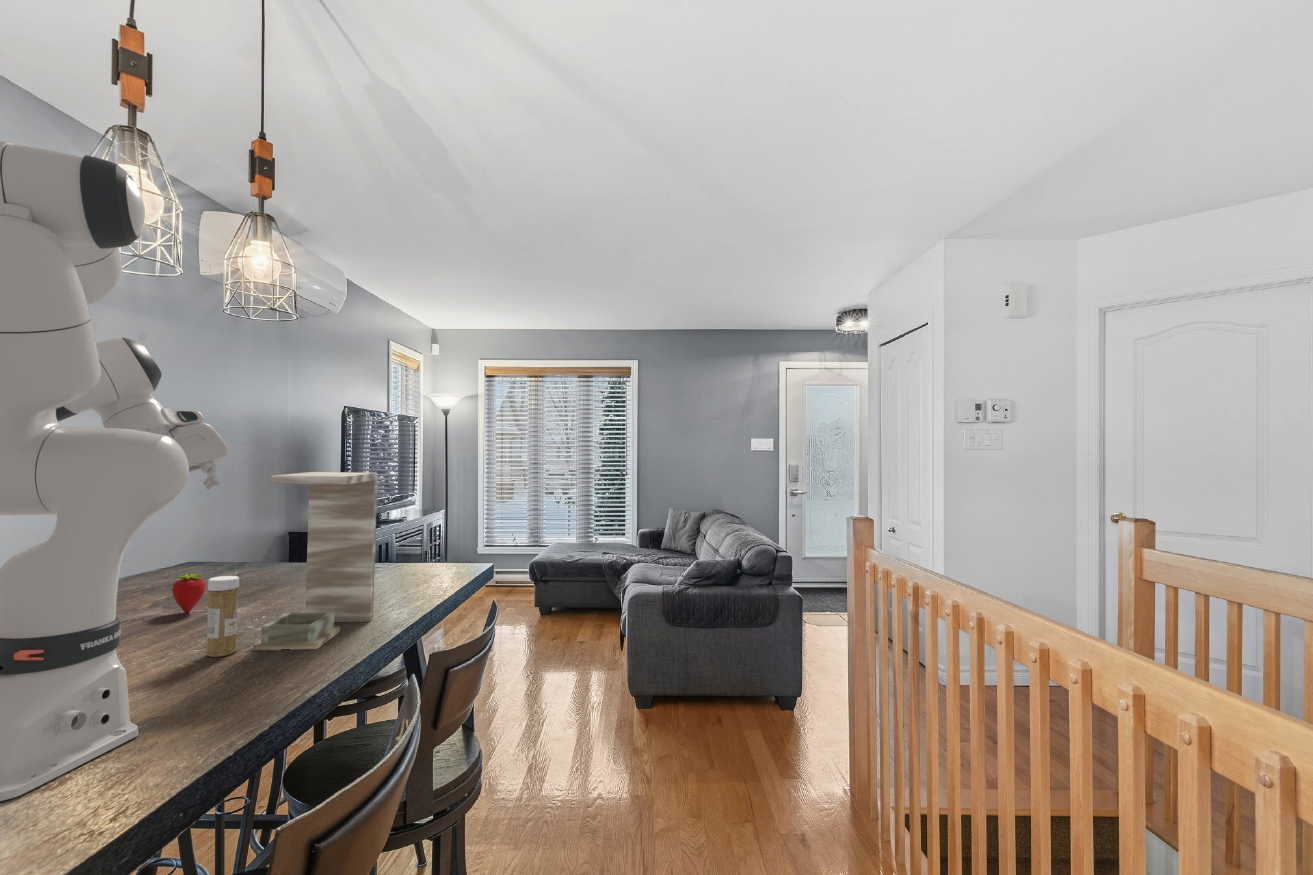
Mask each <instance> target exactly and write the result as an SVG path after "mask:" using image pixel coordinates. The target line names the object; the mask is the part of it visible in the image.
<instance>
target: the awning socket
mask: <svg viewBox="0 0 1313 875" xmlns="http://www.w3.org/2000/svg"><path fill="white" fill-rule="evenodd" d="M270 480H271V484H272V485H308V489H309V490H308V512H307V513H308V515H307V516H308V517H307V548H306V549H307V551H306V576H305V577H306V580H305V581H306V582H305V584H306V585H305V610H304V611H305V612H291V613H290V612H289V613H287V612H285V613H283V614H281V615H279V616H277V617H276V618H274V619H272V620H270V621H269V622H267V623H265V624H264V625H262V626H261V629H260V630H261V632H260V633H261V634H260V640H259V641H257V642H255V643H254V644H253V645H252V651H280V650H281V649H290V650H318V649H319V648H321V647H322V646H323V645H325V644H326V643H327V642H328V641H330V640H331V639H332V638H333V637H335V636H336V635H338V634H339V633H340V632H341V626H338V625H337V626H336V625H335V623H346V622H347V623H350V622H351V623H354V622H355V623H359V622H360V623H361V622H366V623H367V622H371V621H373V619H374V604H375V600H374V599H375V574H376V573H375V571H376V570H375V569H376V567H375V566H376V564H375V563H376V533H377V530H376V529H377V528H376V527H377V501H378V500H377V498H378V497H377V496H378V495H377V494H378V472H356V471H355V472H353V471H352V472H351V471H350V472H349V471H347V472H346V471H345V472H344V471H343V472H337V471H334V472H333V471H310V472H309V471H308V472H298V473H297V472H296V473H288V474H287V473H285V474H276V475H275V474H274V475H271V479H270Z"/></svg>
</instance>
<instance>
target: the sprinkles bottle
mask: <svg viewBox="0 0 1313 875" xmlns="http://www.w3.org/2000/svg"><path fill="white" fill-rule="evenodd" d="M239 587H240V577H239V576H236V575H221V576H216V577H210V578H209V579H208V580H207V590H208V591H207V592H208V603H207V604H208V605H207V619H206V620H207V623H206V624H207V626H206V628H207V629H206V630H207V631H206V637H207V640H206V641H207V644H206V645H207V647H206V652H205V655H206V656H207V657H209V656H210V657H211V658H220V657H226V656H229V655H233V654H234V653H236V652H237V650H238V649H237V633H238V590H239Z"/></svg>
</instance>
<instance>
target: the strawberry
mask: <svg viewBox="0 0 1313 875" xmlns="http://www.w3.org/2000/svg"><path fill="white" fill-rule="evenodd" d="M194 567H195V566H193V567H192V568H191V569H190V570H189V571H188V573H186V574H185V575H177V576H176V577H175V579H178V580H175V582H174V583H173V584H172V588H171V592H172V596H173V599H174V600H175V602H176V604H177V606H179V607H180V609H182V611H183V613H186V614H188V613H191V611H192V610H193V609H194V607H195V606H197V604H198V603H199V601H200V600H201V599H202V597H203V596H204V593H205V590H206V581H204V579H202V578H200V577H206V575H207V574H196V573H194V574H193V573H192V574H190V572H192V570H193V569H194Z"/></svg>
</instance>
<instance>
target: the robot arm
mask: <svg viewBox="0 0 1313 875" xmlns="http://www.w3.org/2000/svg"><path fill="white" fill-rule="evenodd" d="M145 214H146V208H145V203H144V199H143V197H142V194H141V192H140V190H139V188H138V187H137V185H136V183H135V182H134V179H133V176H132V175H131V174H130V173H129V172H127V171H126V170H125V169H124V168H123V167H122V166H120V165H119V164H118V163H115V162H112V161H111V160H110V161H109V160H107V159H104V158H101V157H96V156H92V155H88V154H87V155H84V156H78V155H75V154H70V153H65V152H61V151H56V150H51V149H45V148H44V149H43V148H39V147H35V146H34V147H33V146H26V145H18V144H14V143H12V142H10V141H1V140H0V516H27V515H28V516H29V515H31V516H32V515H37V516H38V515H39V516H40V515H41V516H43V515H56V523H55V527H54V529H53V531H52V534H50V536H49V538H47V540H45V541H43V542H40V543H38V544H35V545H34V546H31V547H29V548H26V549H25V550H21V551H20V552H18V553H16V554H15V555H13V556H11V557H10V558H9V559H7V560H6V561H5V562H4V563H3V564H2V565H1V566H0V802H4V801H6V800H10V799H13V798H17V797H19V796H22V795H23V794H26V793H28V792H30V791H32V790H34V789H36V788H38V787H40V786H42V785H45V783H48V782H51V781H52V780H53V779H55V778H57V777H59V776H62V775H64V774H65V773H67V772H69V771H71V770H74V769H75V768H77V767H79V766H81V765H83V764H85V763H87V762H89V761H91V760H93V759H94V758H97V757H98V756H101V755H102V754H105V753H107V752H108V751H111V750H112V749H114V748H116V747H118V746H120V745H122V744H124V743H126V742H129V740H132V739H134V738H136V737H138V736H139V726H138V725H137V724H135V723H133V722H131V716H130V705H129V704H130V703H129V690H128V688H129V687H128V680H127V679H128V678H127V671H126V669H125V667H124V666H123V665H122V663H121V662H120V660H119V658H118V657H119V656H118V654H117V648H118V647H119V646H120V644H121V643H120V642H121V641H120V636H121V634H122V628H121V622H120V621H121V620H120V617H118V616H117V614H116V613H117V601H118V600H117V597H118V589H119V588H118V587H119V579H120V572H121V566H122V561H123V558H124V555H125V553H126V550H127V549H128V546H129V544H130V542H131V541H132V539H133V538H134V536H135V535H136V534H137V532H138V531H139V529H140V528H141V527H142V526H143V525H144V524H145V523H147V521H148V520H150V519H151V518H152V517H153V516H154V515H156V514H157V513H159V512H161V511H162V510H163V509H165V508H166V507H169V506H170V505H171V504H172V503H173V502H174V501H175V500H176V499H178V497H180V495H181V494H182V492H183V491H184V490H185V487H186V486H187V483H188V480H189V475H190V473H191V472H195V471H197V470H201V471H202V473H204V474H206V473H207V477H206V479H205V480H204V481H203V485H204V486H206V489H207V490H208V491H210V490H213V489H216V488H218V487H219V486H220V484H221V483H220V481H219V479H218V478H217V477H216V476H217V475H216V474H217V465H219V464H222V463H223V462H224V461H226V459H227V458H228V457H229V455H230V454H229V453H230V448H229V447H228V446H229V445H227V443H226V442H225V440H224V439H223V438H222V436H221V434H219V433H218V432H217V430H216V429H215V428H214V427H213V426H211V425H210V424H208V423H204V420H205V416H204V414H202V412H200V411H198V410H185V409H182V410H181V409H173V408H166V407H164V406H163V405H162V403H161V402H160V401H158V400H157V399H156V398H155V397H154V395H153V393H152V392H155V391H156V389H157V388H158V385H159V384H160V381H161V378H162V375H163V374H162V371H161V369H160V367H159V366H158V364H157V363H156V362H155V360H154V359H153V357H152V356H151V355H150V353H149V351H148V350H147V348H146V347H145V345H144V344H142V343H140V342H138V341H136V340H134V339H130V338H126V337H122V336H121V337H116V338H110V339H106V340H102V341H97V342H96V339H95V332H94V330H93V329H94V328H93V323H92V318H91V314H90V311H89V306H88V305H90V304H93V303H95V302H97V301H99V300H101V299H102V298H104V297H105V296H106V295H108V294H110V292H111V291H112V290H113V289H114V288H116V286H117V285H118V283H119V281H120V280H121V277H122V272H123V264H122V263H123V261H122V255H121V250H120V248H122V247H123V248H124V247H128V246H130V245H132V244H133V243H134V242H136V241H137V240H138V239H139V238H141V237H140V236H141V233H142V228H143V225H144V224H145V219H146V215H145ZM89 410H93V411H95V412H96V413H97V414H98V415H99V417H100V418H101V421H102V425H103V427H75V426H72V427H70V426H69V427H68V426H65V425H64V426H63V425H61V424H60V423H59V422H61V421H64V420H66V419H69V418H71V417H74V416H76V415H78V414H80V413H83V412H87V411H89Z"/></svg>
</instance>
